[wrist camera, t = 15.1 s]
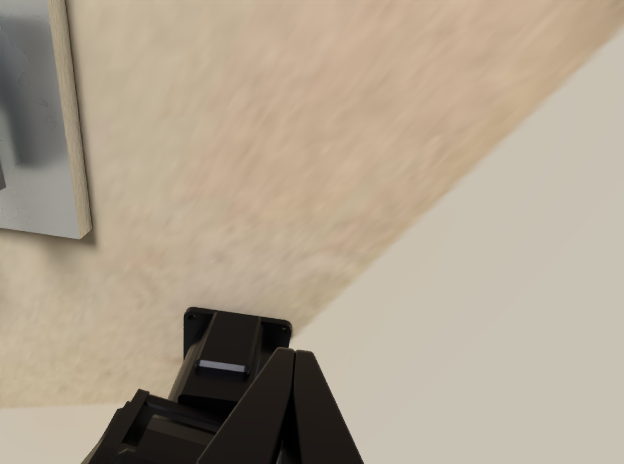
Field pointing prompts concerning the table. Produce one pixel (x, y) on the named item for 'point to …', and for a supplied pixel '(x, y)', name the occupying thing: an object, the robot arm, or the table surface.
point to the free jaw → (2, 178)
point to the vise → (40, 123)
